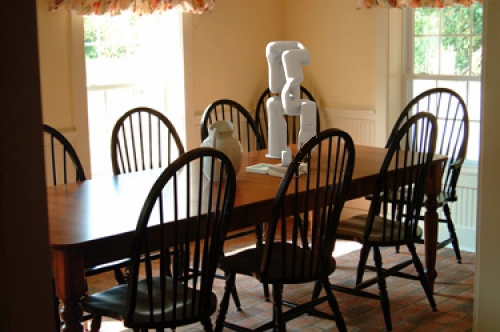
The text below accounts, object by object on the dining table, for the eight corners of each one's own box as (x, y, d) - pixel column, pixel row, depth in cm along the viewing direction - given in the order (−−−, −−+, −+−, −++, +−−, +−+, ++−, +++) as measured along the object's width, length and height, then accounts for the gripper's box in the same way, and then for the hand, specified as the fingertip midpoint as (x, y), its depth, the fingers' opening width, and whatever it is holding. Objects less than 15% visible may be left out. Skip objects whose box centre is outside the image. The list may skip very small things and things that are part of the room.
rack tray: (261, 167, 360) (261, 163, 359) (280, 169, 353) (280, 165, 353) (245, 171, 349) (245, 167, 349) (264, 174, 343) (264, 170, 342)
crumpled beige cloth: (287, 169, 354) (287, 161, 353) (309, 172, 346) (309, 164, 346) (268, 175, 341) (268, 166, 340) (290, 178, 334) (290, 169, 333)
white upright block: (285, 173, 345) (285, 149, 343) (293, 174, 343) (293, 150, 340) (280, 174, 342) (280, 151, 340) (287, 175, 339) (288, 152, 337)
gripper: (309, 124, 361) (309, 161, 364) (292, 128, 349) (292, 166, 353) (323, 126, 356) (322, 163, 360) (306, 130, 345) (305, 168, 348)
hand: (307, 165), depth 356 cm, fingers closed
